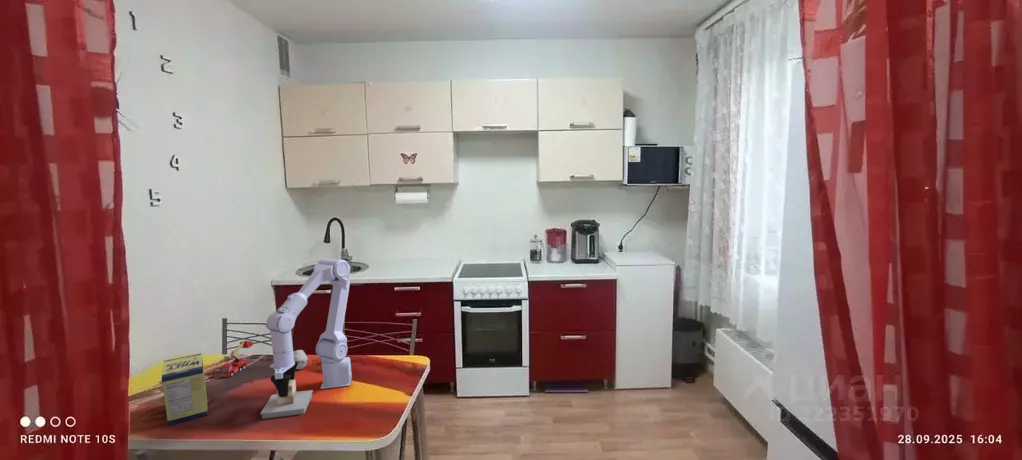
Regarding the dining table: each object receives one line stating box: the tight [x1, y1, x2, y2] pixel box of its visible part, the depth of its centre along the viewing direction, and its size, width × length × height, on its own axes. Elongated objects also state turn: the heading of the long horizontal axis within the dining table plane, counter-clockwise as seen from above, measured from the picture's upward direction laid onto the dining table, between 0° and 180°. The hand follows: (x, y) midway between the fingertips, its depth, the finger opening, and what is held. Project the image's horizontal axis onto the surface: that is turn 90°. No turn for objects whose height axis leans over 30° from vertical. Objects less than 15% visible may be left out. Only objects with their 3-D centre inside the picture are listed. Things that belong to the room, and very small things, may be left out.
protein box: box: [161, 353, 209, 426], centre depth 151 cm, size 10×16×16 cm
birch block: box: [276, 378, 297, 405], centre depth 152 cm, size 4×4×6 cm
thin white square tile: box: [260, 389, 314, 420], centre depth 152 cm, size 13×13×2 cm
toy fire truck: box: [221, 340, 254, 378], centre depth 181 cm, size 3×14×10 cm, turn 168°
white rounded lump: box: [293, 349, 308, 370], centre depth 181 cm, size 6×7×7 cm
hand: (286, 391), depth 152 cm, fingers open, 7 cm apart
